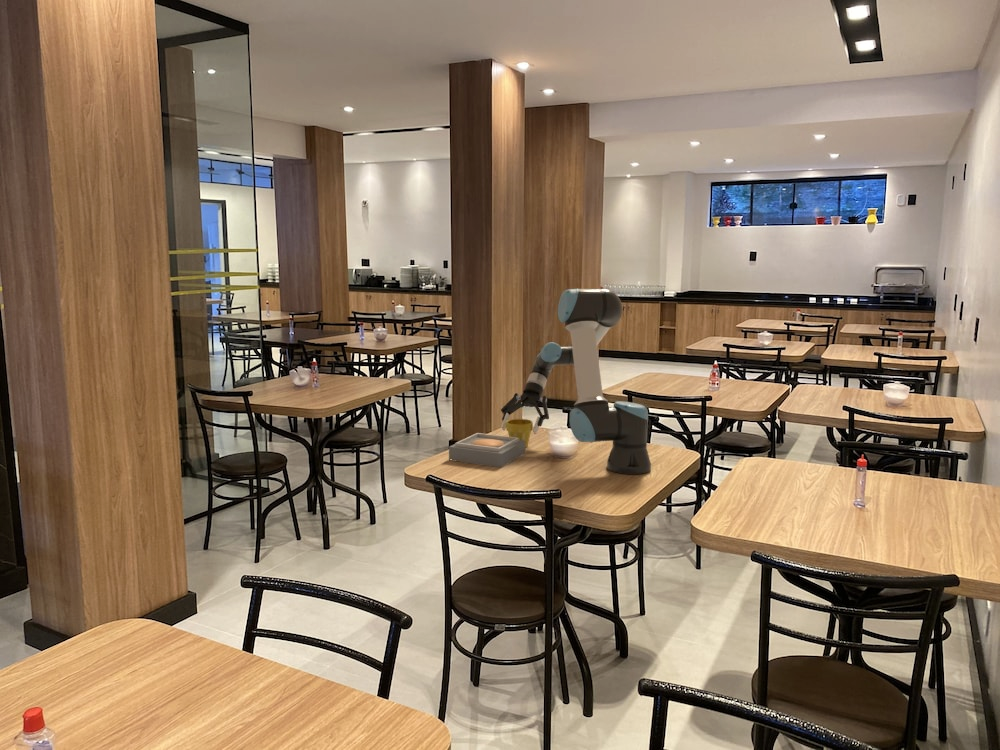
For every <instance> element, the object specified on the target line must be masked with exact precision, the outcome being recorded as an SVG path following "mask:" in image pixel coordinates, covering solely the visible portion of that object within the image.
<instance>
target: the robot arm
mask: <svg viewBox="0 0 1000 750" xmlns="http://www.w3.org/2000/svg"><path fill="white" fill-rule="evenodd" d="M558 301H559V302H558V306H557V317H558V318H557V319H558V321H559V322H561V323H563V324H565V330H566V331H568V332H569V334H570V340H571V341H570V342H571V345H570V346H568V345H567V346H566V345H565V346H564V345H563V346H561V345H560V344H558V343H556V342H553V341H552V342H551V341H550V342H547V343H546V344H545V345H544V346H543V347H542V348H541V350H540V353H538V354H537V356H536V358H535V359H534V363H533V366H532V368H531V371H530V373H529V375H528V378H527V380H526V384H525V386H524V388H523V391H522V394H521V395H520V394H518V393H514V395H513V397H511V398H510V400H509V401H508V402H507V403H506V404H505V405H504V406H503V407H502V408H500V412H501V413H502V415H503V416H502V418H501V420H502V423H501V425H500V427H501V429H502V431H506V421H508V420H510V418H511V415H512V414H514V412H516V411H518V410H519V409H521V408H524V407H526V408H527V407H529V408H533V407H534V408H535V410H536V411H537V413H538V415H539V416H537V418H536V420H535V422H534V425H533V429H532V432H533V434H534V435H537V434H538V431H539V428H540V427H542V425H543V422H544V420H549V419H550V416H549V411H548V405H547V404H548V398H547V396H546V395H544V396H543V393H544V390H545V389H546V388H545V387H546V385H547V382H548V379H549V376H550V375H551V372H552V370H553V369H554V367H555V366H568V365H569V366H570V365H571V366H574V376H575V383H576V384H575V385H576V393H577V400H576V401H575V402H574V404H573V406H574V407H573V408H572V409H571V410H570V412H569V426H570V429H571V432H572V434H573V436H574V438H575V439H576V440H577V441H578V442H580V443H596V442H612V447H611V450H610V452H609V456H608V458H607V461H606V468H607V470H609V471H610V472H614V473H618V474H625V475H642V473H643V474H646V473H649V472H651V470H652V463H651V460H650V455H649V452H648V449H647V448H648V447H647V445H648V423H649V411H648V408H647V407H646V406H644V405H643V404H639V403H635V402H630V401H614V402H613V403H614V404H613V406H609V400H608V399H606V398H605V397H604V395H603V393H604V392H603V387H602V378H601V370H600V361H599V352H598V345H599V343H600V342H601V341H602V340H603V338H604V337H605V335H606V334H607V333H608V332H609V331H610V329H611V328H614V327H615V326H616V325H617V324H618V323H619V321H620V320H621V318H622V315H623V310H624V309H623V303H622V301H621V299H620V297H619V296H618V295H617V294H616V293H615V292H614V291H612V290H610V289H606V288H573V289H572V288H571V289H566V290H563V292H562V293H561V295H560V297H559V300H558ZM540 402H541V403H542V408H543V413H542V411H541V409H540V407H539V405H538V404H539V403H540Z"/></svg>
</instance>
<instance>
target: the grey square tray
mask: <svg viewBox="0 0 1000 750" xmlns="http://www.w3.org/2000/svg"><path fill="white" fill-rule="evenodd" d="M525 454H526V447H525V440H519V438H516V437H509V435H508V436H507V435H500V434H499V435H498V434H490V433H481V432H476V433H474V434H472V435H470V436H468V437H466V438H463V439H461V440H459V441H457V442H454V444H452V445H450V446H448V460H449V459H452V460H456V461H455V462H458V461H460V463H467V464H473V465H474V464H475V465H482V466H488V467H496V468H504V467H505V466H507V465H509V464H510V463H512V462H513V461H515V460H517V459H518V458H521V457H522V456H523V455H525Z"/></svg>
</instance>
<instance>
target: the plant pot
mask: <svg viewBox="0 0 1000 750" xmlns="http://www.w3.org/2000/svg"><path fill="white" fill-rule="evenodd" d="M533 423H534V422H533V421H532V420H531V419H526V418H525V419H524V418H513V419H509V420H508V421H506V429H505V431H507V433H508V437H516V438H519V440H525V448H527V447H528V446H529V443H530V437H531V434H532V433H531V432H533V428H534V425H533Z"/></svg>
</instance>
